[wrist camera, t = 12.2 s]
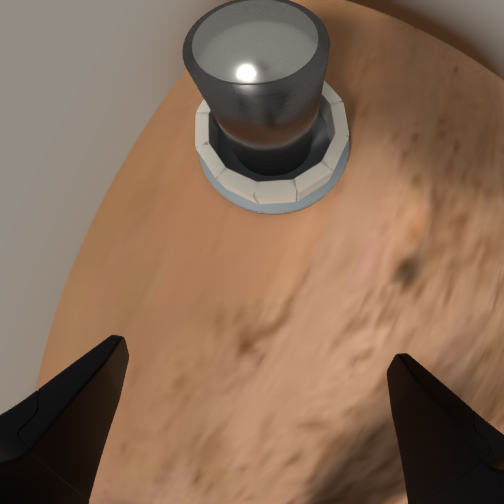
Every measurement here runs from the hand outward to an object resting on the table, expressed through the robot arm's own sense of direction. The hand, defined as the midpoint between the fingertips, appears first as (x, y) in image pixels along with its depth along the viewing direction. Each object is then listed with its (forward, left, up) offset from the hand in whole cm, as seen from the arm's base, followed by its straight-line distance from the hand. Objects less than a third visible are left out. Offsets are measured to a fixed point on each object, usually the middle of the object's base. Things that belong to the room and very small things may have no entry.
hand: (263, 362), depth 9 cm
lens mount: (+5, -10, -10) cm, 15 cm away
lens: (+5, -10, -9) cm, 14 cm away
